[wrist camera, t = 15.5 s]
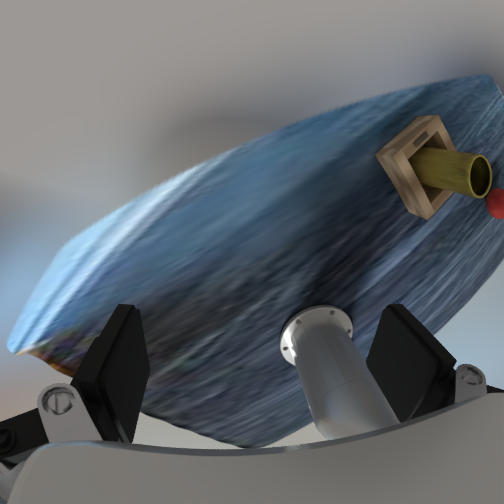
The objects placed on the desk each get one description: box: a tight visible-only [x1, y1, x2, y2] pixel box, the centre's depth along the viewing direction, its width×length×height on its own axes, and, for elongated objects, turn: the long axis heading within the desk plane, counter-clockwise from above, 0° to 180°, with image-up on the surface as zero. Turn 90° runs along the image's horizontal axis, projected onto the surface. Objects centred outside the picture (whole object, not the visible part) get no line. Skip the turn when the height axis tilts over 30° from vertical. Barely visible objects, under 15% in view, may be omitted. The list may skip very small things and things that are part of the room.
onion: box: [485, 188, 504, 219], centre depth 36 cm, size 6×6×8 cm
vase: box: [408, 147, 492, 198], centre depth 30 cm, size 6×6×14 cm
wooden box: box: [375, 115, 456, 220], centre depth 34 cm, size 11×11×5 cm
